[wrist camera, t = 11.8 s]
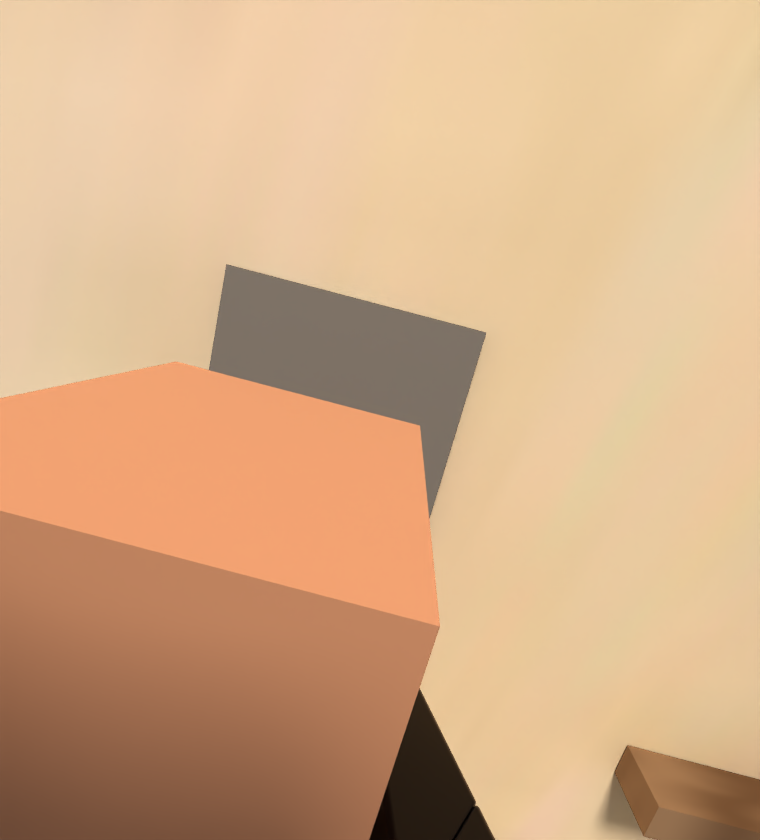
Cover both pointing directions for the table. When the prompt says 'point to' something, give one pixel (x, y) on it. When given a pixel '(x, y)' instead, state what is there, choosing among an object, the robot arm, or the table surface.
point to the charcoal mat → (349, 355)
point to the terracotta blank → (206, 609)
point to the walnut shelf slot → (688, 798)
